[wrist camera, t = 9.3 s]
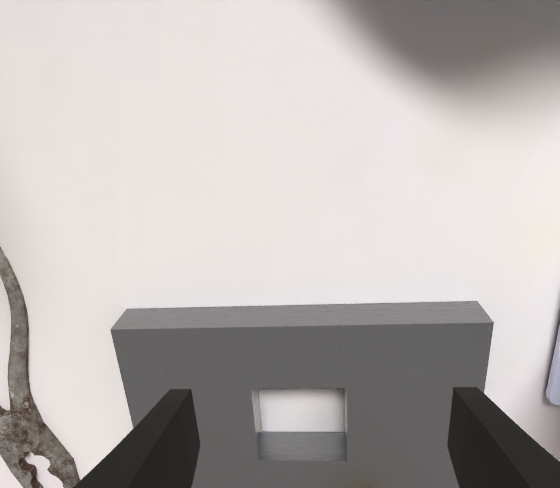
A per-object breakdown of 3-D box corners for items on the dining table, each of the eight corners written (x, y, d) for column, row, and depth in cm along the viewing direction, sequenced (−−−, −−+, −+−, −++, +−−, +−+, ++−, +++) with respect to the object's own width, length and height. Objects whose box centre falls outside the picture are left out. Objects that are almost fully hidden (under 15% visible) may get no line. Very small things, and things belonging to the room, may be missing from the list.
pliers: (-54, 184, 20) (166, 474, 26) (-40, 181, 21) (170, 462, 27) (-188, 264, 22) (44, 515, 28) (-171, 257, 23) (51, 503, 29)
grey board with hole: (477, 301, 21) (493, 322, 19) (455, 478, 25) (467, 510, 23) (126, 308, 22) (110, 329, 21) (162, 476, 27) (151, 505, 25)
